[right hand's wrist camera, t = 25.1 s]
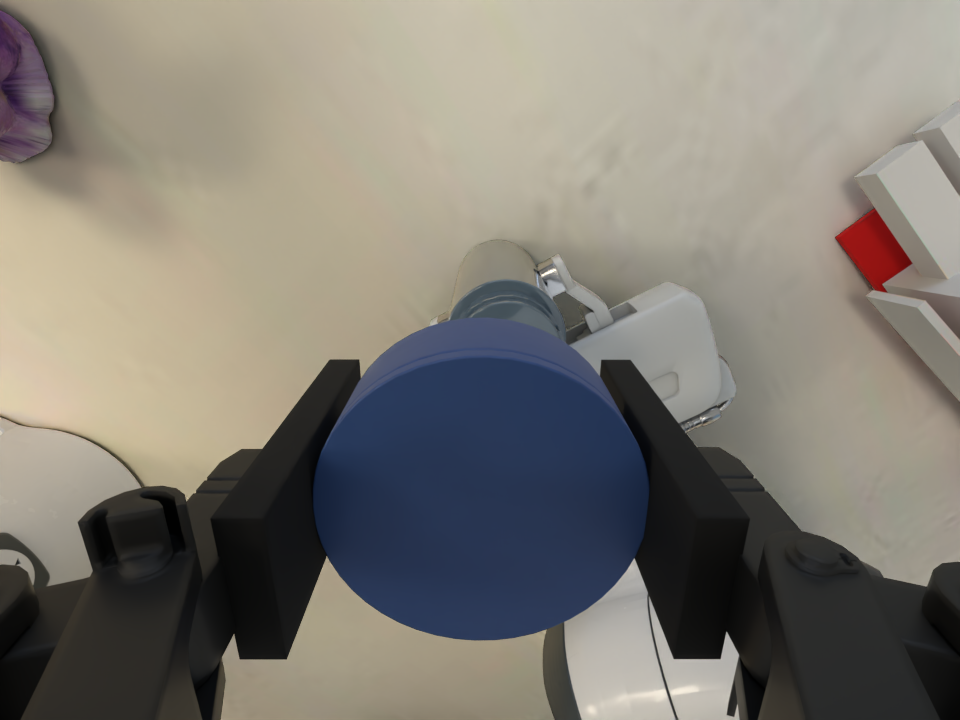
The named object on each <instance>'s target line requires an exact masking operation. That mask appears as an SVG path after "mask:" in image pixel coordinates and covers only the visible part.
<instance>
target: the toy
mask: <svg viewBox="0 0 960 720" xmlns="http://www.w3.org/2000/svg"><path fill="white" fill-rule="evenodd" d="M913 136H914V137H915V139H916V140H917V141H916V142H911V143H906V144H902V145H897V146H895V147H894V148H893V149H891V150H890V151H889V152H887V153H886V154H885V155H883V156H882V157H881V158H879V159H878V160H876V161H875V162H874V163H872V164H871V165H870V166H868V167H867V168H866V169H864V170H863V171H862V172H860V173H859V174H857V175H856V176H855V177H854V178H855V180H856V181H857V183H858V184H859V186H860V187H861V189H862V190H863V191H864V193H865V194H866V196H867V197H868V199H869V200H870V202H871V203H872V205H873V206H874V207H875V208H874V209H873V210H871V211H870V212H869V213H867V214H866V215H865V216H863V217H862V218H861V219H859V220H858V221H857V222H855V223H854V224H852V225H851V226H850V227H848V228H847V229H846V230H844V231H843V232H842V233H840V234H839V235H838V236H836V237H835V238H836V239H837V241H838V242H839V243H840V245H841V246H842V247H843V248H844V250H845V251H846V252H847V254H848V255H849V256H850V258H851V259H852V260H853V262H854V263H855V264H856V266H857V267H858V268H859V269H860V271H861V272H862V273H863V275H864V276H865V277H866V279H867V280H868V281H869V283H870V284H871V285H872V287H873V288H874V289H875V290H872V291H871V292H870V293H868V294H867V295H866V297H867V299H868V300H869V301H870V302H871V303H872V304H873V305H874V306H875V308H876V309H877V310H878V311H879V312H880V313H881V314H882V315H883V317H884V318H885V319H886V320H887V321H888V322H889V323H890V324H891V325H892V327H893V328H894V329H895V330H896V331H897V332H898V333H899V334H900V336H901V337H902V338H903V339H904V340H905V341H906V342H907V343H908V345H909V346H910V347H911V348H912V349H913V350H914V351H915V352H916V353H917V355H918V356H919V357H920V358H921V359H922V360H923V361H924V362H925V364H926V365H927V366H928V367H929V368H930V369H931V370H932V371H933V373H934V374H935V375H936V376H937V377H938V378H939V379H940V380H941V381H942V383H943V384H944V385H945V386H946V387H947V388H948V389H949V390H950V392H951V393H952V394H953V395H954V396H955V397H956V398H957V399H958V401H959V402H960V100H958V101H956V102H955V103H954V104H952V105H951V106H950V107H948V108H947V109H946V110H944V111H943V112H942V113H940V114H939V115H937V116H936V117H935V118H933V119H932V120H931V121H929V122H928V123H927V124H925V125H924V126H923V127H921V128H920V129H918V130H917V131H916V132H914V133H913Z"/></svg>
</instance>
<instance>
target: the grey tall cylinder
mask: <svg viewBox="0 0 960 720" xmlns="http://www.w3.org/2000/svg"><path fill="white" fill-rule="evenodd" d="M465 318H496V319H506V320H511V321H515V322H519V323H524V324H527V325H530V326H533V327H535V328H538V329H541V330H543V331H546V332H548V333H549V334H551V335H553V336H555V337H557V338H559V339H561V340H562V341H564V342H565V343H566V329H565V324H564V320H563V317H562V314H561V312H560V310H559V308H558V306H557V305H556V303H555V301H554V299H553V297H552V295H551V293H550V291H549V290H548V288H547V286H546V284H545V282H544V280H543V279H542V277H541V276H540V274H539V272H538V270H537V268H536V265H535V263H534V261H533V260H532V258H531V257H530V255H529V254H528V253H527V252H526V251H525V250H524V249H523V248H522V247H520V246H518V245H517V244H514V243H512V242H509V241H504V240H491V241H487V242H484V243H482V244H479V245H478V246H476V247H475V248H473V249H472V250H471V251H470V252H469V253H468V254H467V255H466V256H465V258H464V259H463V261H462V263H461V265H460V268H459V271H458V276H457V280H456V284H455V289H454V293H453V298H452V302H451V307H450V311H449V316H448V320H447V321H451V320H458V319H465Z"/></svg>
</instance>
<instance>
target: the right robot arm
mask: <svg viewBox="0 0 960 720" xmlns="http://www.w3.org/2000/svg"><path fill="white" fill-rule="evenodd" d="M600 377H601V379H602V380H603V382H604V384H605V386H606V387H607V389H608V391H609V393H610V394H611V396H612V398H613V400H614V402H615V403H616V405H617V407H618V409H619V411H620V412H621V414H622V416H623V418H624V420H625V421H626V423H627V425H628V427H629V429H630V430H631V432H632V434H633V436H634V438H635V439H636V441H637V443H638V445H639V448H640V450H641V453H642V455H643V458H644V461H645V464H646V468H647V473H648V478H649V485H650V491H649V501H648V508H647V516H646V524H645V531H644V537H643V540H642V543H641V545H640V547H639V550H638V552H637V554H636V556H635V561H636V563H637V566H638V568H639V571H640V574H641V576H642V579H643V581H644V584H645V587H646V589H647V592H648V594H649V597H650V599H651V602H652V605H653V607H654V610H655V612H656V615H657V618H658V620H659V623H660V625H661V628H662V630H663V633H664V636H665V638H666V641H667V643H668V646H669V648H670V651H671V654H672V656H673V659H721V655H722V650H723V645H724V641H725V636H726V631H727V633H728V635H729V637H730V639H731V641H732V643H733V644H734V646H735V648H736V650H737V652H738V654H739V657H738V662H737V666H736V671H735V675H734V680H733V684H732V688H731V693H730V697H729V702H728V708H727V715H728V716H732V717H734V716H735V712H736V708H737V704H738V711H739V719H740V720H960V562H952V563H942V564H941V565H939V566H938V567H936V568H935V569H934V570H933V572H932V575H931V578H930V580H929V583H928V586H927V587H925V586H921V585H916V584H911V583H907V582H902V581H897V580H892V579H888V578H883V577H878V576H875V575H871V574H869V572H868V570H867V569H866V568H865V566H864V565H863V564H862V562H861V561H860V560H859V559H858V557H856V556H855V555H854V554H852V553H851V552H850V551H848V550H847V549H846V548H844V547H843V546H841V545H839V544H837V543H835V542H833V541H831V540H828V539H826V538H824V537H821V536H818V535H814V534H810V533H807V532H802V531H801V530H800V529H799V528H798V527H797V525H796V524H795V523H794V522H793V521H792V520H791V518H790V517H789V516H788V515H787V514H786V513H785V512H784V510H783V509H782V508H781V507H780V506H779V505H778V503H777V502H776V501H775V500H774V499H773V498H772V497H771V495H770V494H769V493H768V492H765V490H764V487H763V486H762V485H761V484H760V483H759V482H758V480H757V479H754V478H753V475H752V473H751V472H750V471H749V470H748V469H747V468H746V467H745V465H744V464H743V463H742V462H741V461H740V460H739V459H737V458H735V457H734V456H732V455H731V454H729V453H727V452H726V451H724V450H722V449H721V448H719V447H696V446H695V445H694V443H693V442H692V441H691V439H690V438H689V437H688V435H687V434H686V433H685V431H684V430H683V429H682V427H681V426H680V425H679V423H678V422H677V421H676V419H675V418H674V417H673V415H672V414H671V413H670V411H669V410H668V409H667V407H666V406H665V405H664V403H663V402H662V401H661V399H660V398H659V397H658V395H657V394H656V393H655V391H654V390H653V389H652V388H651V386H650V385H649V384H648V382H647V381H646V380H645V378H644V377H643V376H642V374H641V373H640V372H639V370H638V369H637V368H636V366H635V365H634V364H633V362H632V361H631V360H601V368H600ZM360 379H361V376H360V364H359V360H329V361H328V363H327V364H326V365H325V367H324V368H323V369H322V371H321V372H320V373H319V375H318V376H317V377H316V379H315V380H314V381H313V383H312V384H311V385H310V387H309V388H308V389H307V391H306V392H305V393H304V395H303V396H302V397H301V399H300V400H299V401H298V403H297V404H296V405H295V407H294V408H293V409H292V411H291V412H290V413H289V415H288V416H287V417H286V418H285V420H284V421H283V422H282V424H281V425H280V426H279V428H278V429H277V430H276V432H275V433H274V434H273V436H272V437H271V438H270V440H269V441H268V442H267V444H266V445H265V446H264V448H263V449H241V450H239V451H238V452H236V453H235V454H233V455H231V456H230V457H228V458H227V459H225V460H223V461H222V462H220V463H219V465H218V466H217V467H216V468H215V469H214V470H213V472H212V473H211V474H210V475H209V476H208V477H207V481H204V482H203V483H202V484H201V485H200V487H199V488H198V489H197V490H196V494H193V495H192V496H191V497H190V498H189V499H188V501H187V502H186V498H185V495H184V494H183V493H182V492H180V491H179V490H178V489H176V488H171V487H166V486H153V487H143V488H139V489H134V490H130V491H126V492H123V493H121V494H118V495H116V496H113V497H111V498H108V499H106V500H104V501H102V502H101V503H99V504H98V505H96V506H94V507H93V508H91V509H90V510H88V511H87V512H86V513H85V514H84V516H83V517H82V518H81V519H80V520H79V521H78V526H79V529H80V532H81V535H82V538H83V541H84V545H85V548H86V551H87V554H88V557H89V560H90V564H91V567H92V570H93V571H92V573H91V575H90V577H87V578H84V579H79V580H75V581H70V582H65V583H61V584H56V585H51V586H46V587H42V588H37V589H34V587H33V585H32V582H31V579H30V576H29V574H28V572H27V571H26V570H24V569H23V568H22V567H20V566H16V565H6V564H2V565H0V720H221V712H222V704H223V697H224V689H225V681H226V680H225V672H224V666H223V662H222V656H223V654H224V652H225V650H226V648H227V646H228V644H229V642H230V640H231V638H232V636H233V635H234V634H235V639H236V644H237V649H238V653H239V658H240V659H287V657H288V655H289V652H290V649H291V647H292V644H293V642H294V639H295V636H296V634H297V631H298V629H299V626H300V624H301V621H302V618H303V616H304V613H305V611H306V608H307V605H308V603H309V600H310V598H311V595H312V593H313V590H314V587H315V585H316V582H317V580H318V577H319V574H320V572H321V569H322V567H323V564H324V562H325V559H326V556H327V554H326V552H325V550H324V548H323V546H322V544H321V541H320V538H319V535H318V532H317V529H316V525H315V518H314V511H313V483H314V476H315V470H316V467H317V464H318V460H319V457H320V454H321V451H322V449H323V447H324V445H325V443H326V441H327V439H328V437H329V435H330V433H331V431H332V430H333V428H334V426H335V424H336V422H337V420H338V419H339V417H340V415H341V413H342V411H343V409H344V408H345V406H346V404H347V402H348V400H349V399H350V397H351V395H352V393H353V391H354V389H355V388H356V386H357V384H358V382H359V381H360Z"/></svg>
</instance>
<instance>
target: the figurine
mask: <svg viewBox="0 0 960 720" xmlns="http://www.w3.org/2000/svg"><path fill="white" fill-rule="evenodd" d="M53 108H54V95H53V90H52V86H51V83H50V81H49V80H48V73H47V72H46V69H45V66H44V63H43V60H42V57H41V56H40V54H39V52H38V49H37V47H36V46H35V45H34V40H33V39H32V37H31V35H30V33H29V32H28V31H27V30H26V29H25V28H24V27H23V26H22V25H21V24H20V23H19V22H18V21H17V20H16V19H14V18H13V17H12V16H10V15H9V14H7V13H5V12H3V11H1V10H0V160H1V161H8V162H13V163H15V162H19V163H20V162H23V161H24V160H27V158H30V157H31V156H34V155H37V154H38V153H41V152H43V151H44V150H45V149H47V148H48V146H49V145H50V144H51V141H52V133H51V126H50V123H49V115H50V113H51V112H52V111H53Z"/></svg>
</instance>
